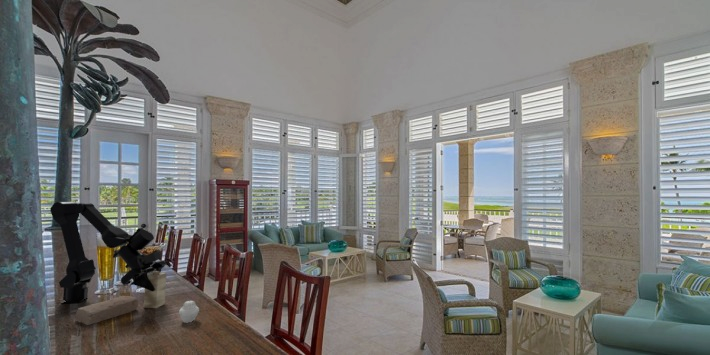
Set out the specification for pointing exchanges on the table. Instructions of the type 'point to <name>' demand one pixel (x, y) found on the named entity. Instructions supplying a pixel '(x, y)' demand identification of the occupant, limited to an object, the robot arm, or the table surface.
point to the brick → (106, 309)
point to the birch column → (158, 295)
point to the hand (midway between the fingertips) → (158, 288)
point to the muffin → (188, 311)
